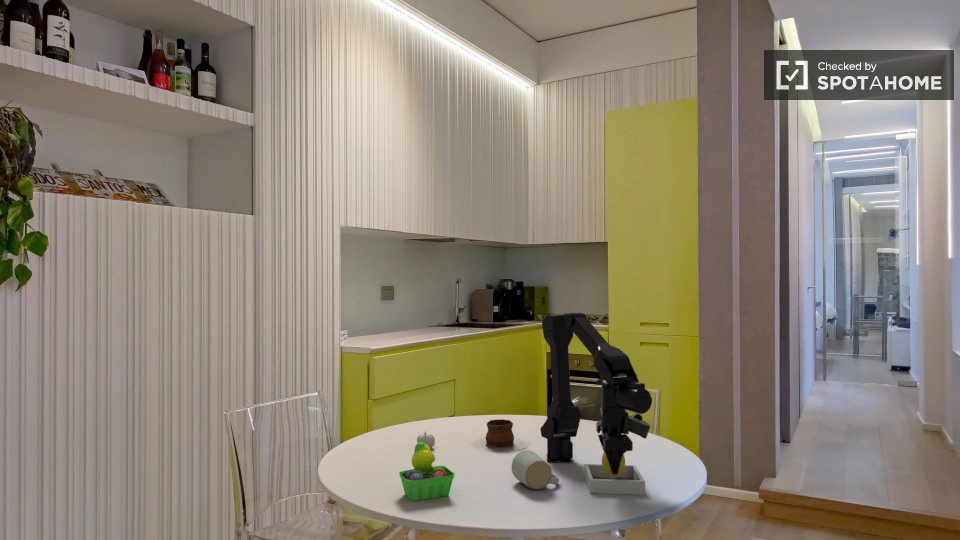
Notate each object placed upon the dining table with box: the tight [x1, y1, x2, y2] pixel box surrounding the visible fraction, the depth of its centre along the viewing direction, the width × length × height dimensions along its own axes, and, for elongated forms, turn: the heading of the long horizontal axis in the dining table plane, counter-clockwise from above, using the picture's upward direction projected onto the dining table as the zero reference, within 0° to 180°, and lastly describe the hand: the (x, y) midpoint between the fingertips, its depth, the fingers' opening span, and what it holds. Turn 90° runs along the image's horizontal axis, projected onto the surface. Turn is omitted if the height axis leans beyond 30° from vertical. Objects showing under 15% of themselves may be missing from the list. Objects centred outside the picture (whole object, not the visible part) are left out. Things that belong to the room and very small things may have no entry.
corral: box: [584, 463, 646, 496], centre depth 150 cm, size 13×13×3 cm
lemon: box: [601, 451, 626, 479], centre depth 151 cm, size 6×6×8 cm
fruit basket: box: [398, 442, 455, 502], centre depth 144 cm, size 11×9×11 cm
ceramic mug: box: [511, 449, 560, 491], centre depth 150 cm, size 11×8×8 cm
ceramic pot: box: [485, 418, 527, 452], centre depth 187 cm, size 18×18×7 cm
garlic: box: [416, 430, 436, 449], centre depth 182 cm, size 6×5×5 cm
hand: (613, 470), depth 150 cm, fingers open, 6 cm apart
